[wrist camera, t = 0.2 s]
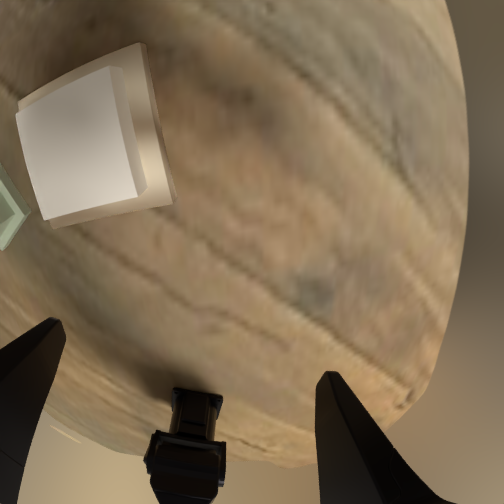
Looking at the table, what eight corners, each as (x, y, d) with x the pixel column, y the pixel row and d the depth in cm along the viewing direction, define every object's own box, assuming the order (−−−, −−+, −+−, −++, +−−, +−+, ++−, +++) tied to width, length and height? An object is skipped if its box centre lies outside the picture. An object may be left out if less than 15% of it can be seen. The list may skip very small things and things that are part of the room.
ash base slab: (179, 194, 22) (172, 203, 20) (63, 220, 23) (52, 229, 21) (149, 46, 16) (139, 41, 14) (32, 99, 17) (17, 102, 15)
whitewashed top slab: (148, 187, 19) (138, 196, 18) (57, 210, 20) (44, 220, 18) (122, 67, 15) (108, 65, 13) (30, 110, 16) (15, 114, 14)
